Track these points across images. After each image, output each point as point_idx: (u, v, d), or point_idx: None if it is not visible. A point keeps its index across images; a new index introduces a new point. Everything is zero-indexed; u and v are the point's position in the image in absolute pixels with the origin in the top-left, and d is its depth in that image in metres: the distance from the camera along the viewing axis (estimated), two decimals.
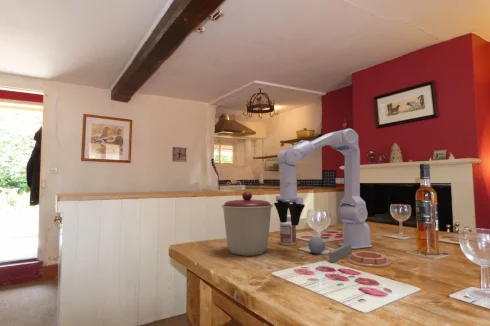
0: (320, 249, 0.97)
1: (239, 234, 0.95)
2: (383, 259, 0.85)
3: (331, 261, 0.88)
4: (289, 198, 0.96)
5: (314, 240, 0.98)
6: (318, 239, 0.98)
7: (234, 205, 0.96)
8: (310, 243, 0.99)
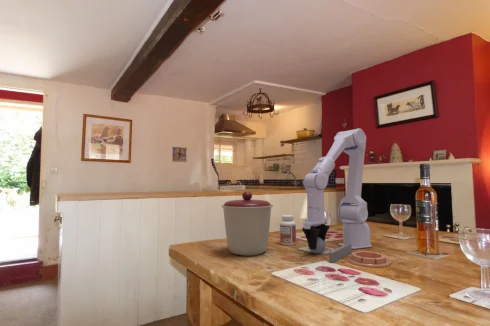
0: (320, 249, 0.97)
1: (239, 234, 0.95)
2: (383, 259, 0.85)
3: (331, 261, 0.88)
4: (306, 222, 0.98)
5: None
6: (318, 239, 0.98)
7: (234, 205, 0.96)
8: None
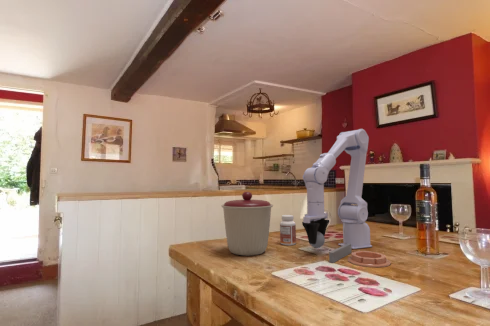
0: (320, 243, 0.97)
1: (239, 234, 0.95)
2: (383, 259, 0.85)
3: (331, 261, 0.88)
4: (305, 216, 0.99)
5: None
6: (318, 233, 0.98)
7: (234, 205, 0.96)
8: None
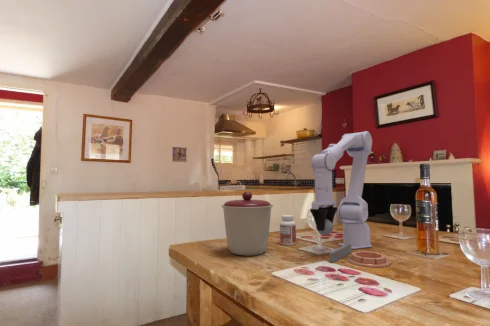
0: (328, 230, 0.96)
1: (239, 234, 0.95)
2: (383, 259, 0.85)
3: (331, 261, 0.88)
4: (313, 203, 0.97)
5: None
6: (326, 220, 0.97)
7: (234, 205, 0.96)
8: None
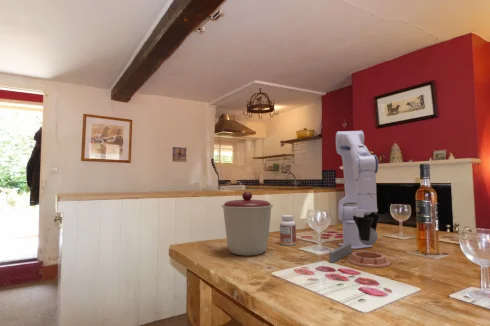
0: (373, 240, 0.87)
1: (239, 234, 0.95)
2: (383, 259, 0.85)
3: (331, 261, 0.88)
4: None
5: None
6: (370, 229, 0.88)
7: (234, 205, 0.96)
8: None
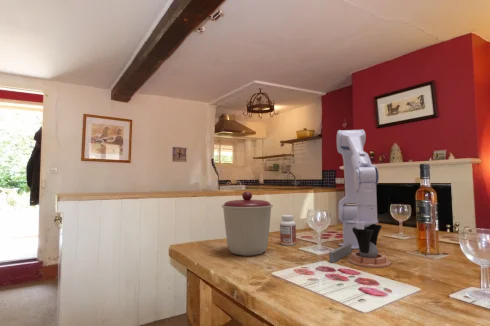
0: (374, 255, 0.86)
1: (239, 234, 0.95)
2: (383, 259, 0.85)
3: (331, 261, 0.88)
4: (357, 221, 0.88)
5: None
6: (371, 244, 0.88)
7: (234, 205, 0.96)
8: None
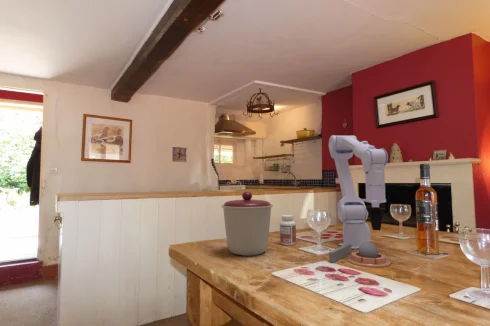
0: (374, 255, 0.86)
1: (239, 234, 0.95)
2: (383, 259, 0.85)
3: (331, 261, 0.88)
4: (369, 201, 0.91)
5: (367, 246, 0.87)
6: (371, 244, 0.88)
7: (234, 205, 0.96)
8: (362, 248, 0.88)
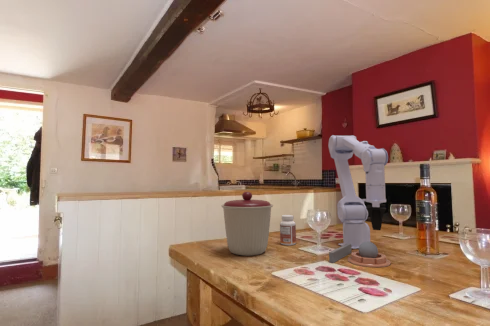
0: (374, 255, 0.86)
1: (239, 234, 0.95)
2: (383, 259, 0.85)
3: (331, 261, 0.88)
4: (369, 201, 0.92)
5: (367, 246, 0.87)
6: (371, 244, 0.88)
7: (234, 205, 0.96)
8: (362, 248, 0.88)
